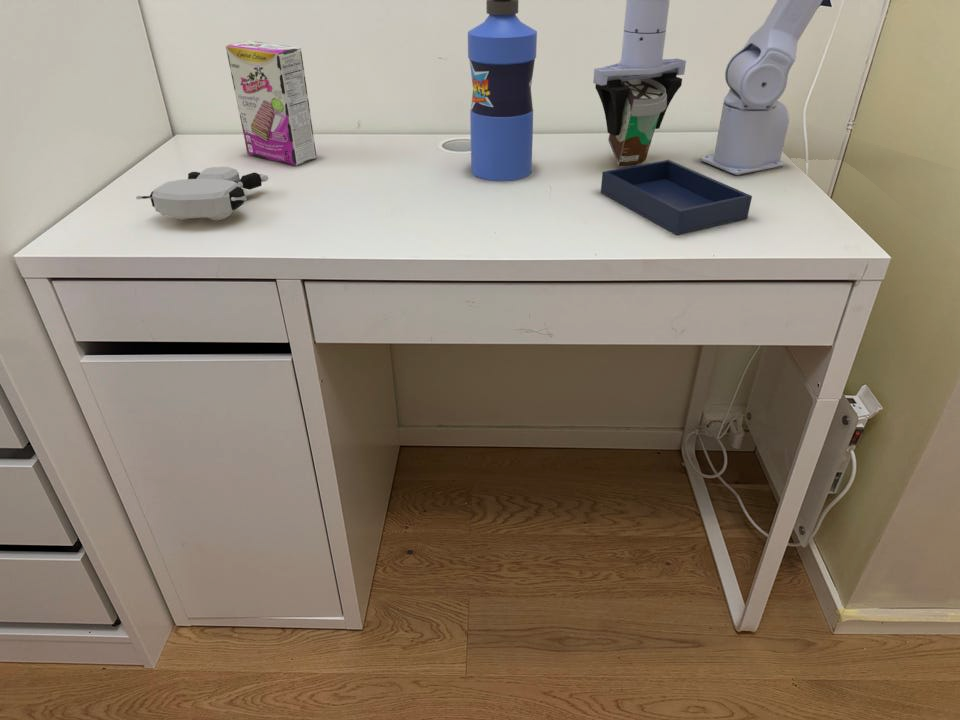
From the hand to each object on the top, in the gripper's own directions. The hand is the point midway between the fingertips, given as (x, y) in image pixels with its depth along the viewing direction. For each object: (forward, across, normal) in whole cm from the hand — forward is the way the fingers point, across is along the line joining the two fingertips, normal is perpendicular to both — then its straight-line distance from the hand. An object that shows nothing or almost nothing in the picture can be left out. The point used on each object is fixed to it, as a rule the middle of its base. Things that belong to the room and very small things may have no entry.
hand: (633, 130), depth 103 cm
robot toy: (+5, +60, -10) cm, 61 cm away
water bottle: (+5, +19, -6) cm, 21 cm away
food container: (+4, 0, 0) cm, 4 cm away
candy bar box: (+5, +47, -28) cm, 55 cm away
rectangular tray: (+5, +6, +17) cm, 18 cm away
